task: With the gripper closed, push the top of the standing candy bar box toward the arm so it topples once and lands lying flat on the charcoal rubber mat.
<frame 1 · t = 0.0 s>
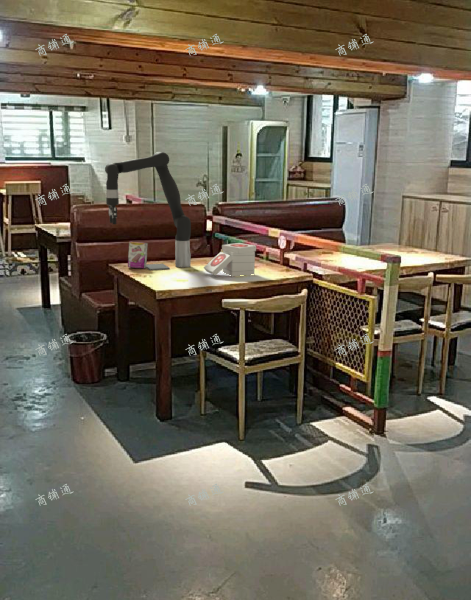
hand: (113, 223, 387), 29 cm above the table, tool pointing down, fingers open, 8 cm apart
candy bar box: (137, 268, 400), on the table
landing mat: (156, 267, 404), on the table
stack of white boxes: (230, 275, 387), on the table
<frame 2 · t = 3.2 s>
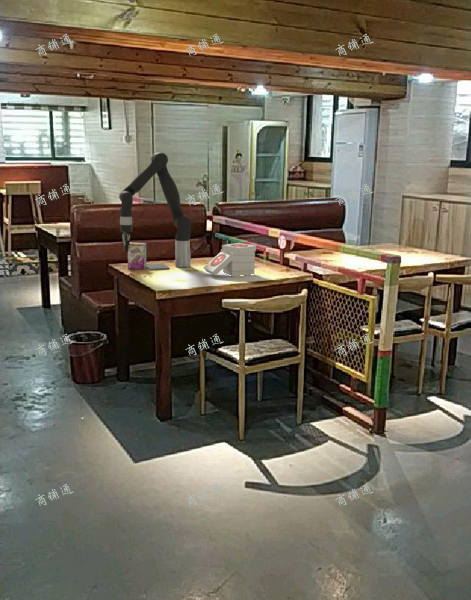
hand: (126, 251, 394), 12 cm above the table, tool pointing down, fingers closed
candy bar box: (137, 268, 400), on the table, touching gripper
everything else where it was.
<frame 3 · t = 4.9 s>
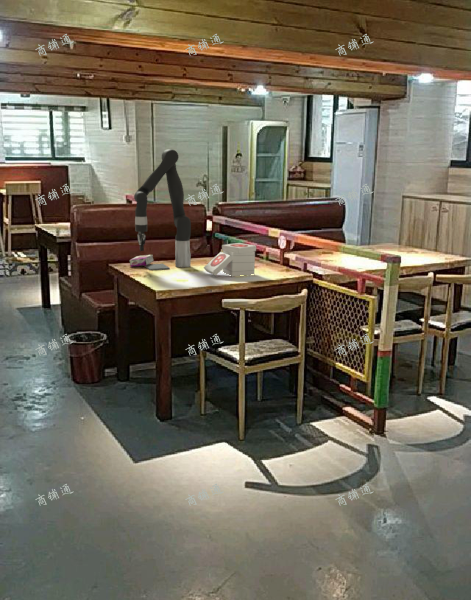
hand: (141, 250, 398), 11 cm above the table, tool pointing down, fingers closed
candy bar box: (137, 262, 402), point 3 cm above the table, touching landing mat
everything else where it was.
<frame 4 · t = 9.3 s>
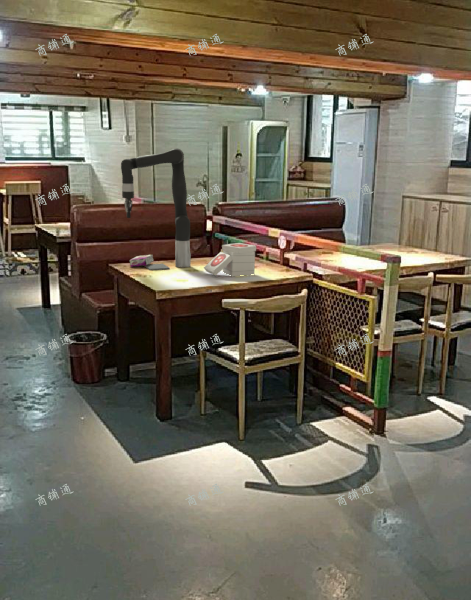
hand: (128, 217, 404), 31 cm above the table, tool pointing down, fingers closed
nothing on the table moved.
at the end: candy bar box tilted 91°; candy bar box touching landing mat, table; candy bar box inside the target area (4.1 cm from its centre), point 3.3 cm above the table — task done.
